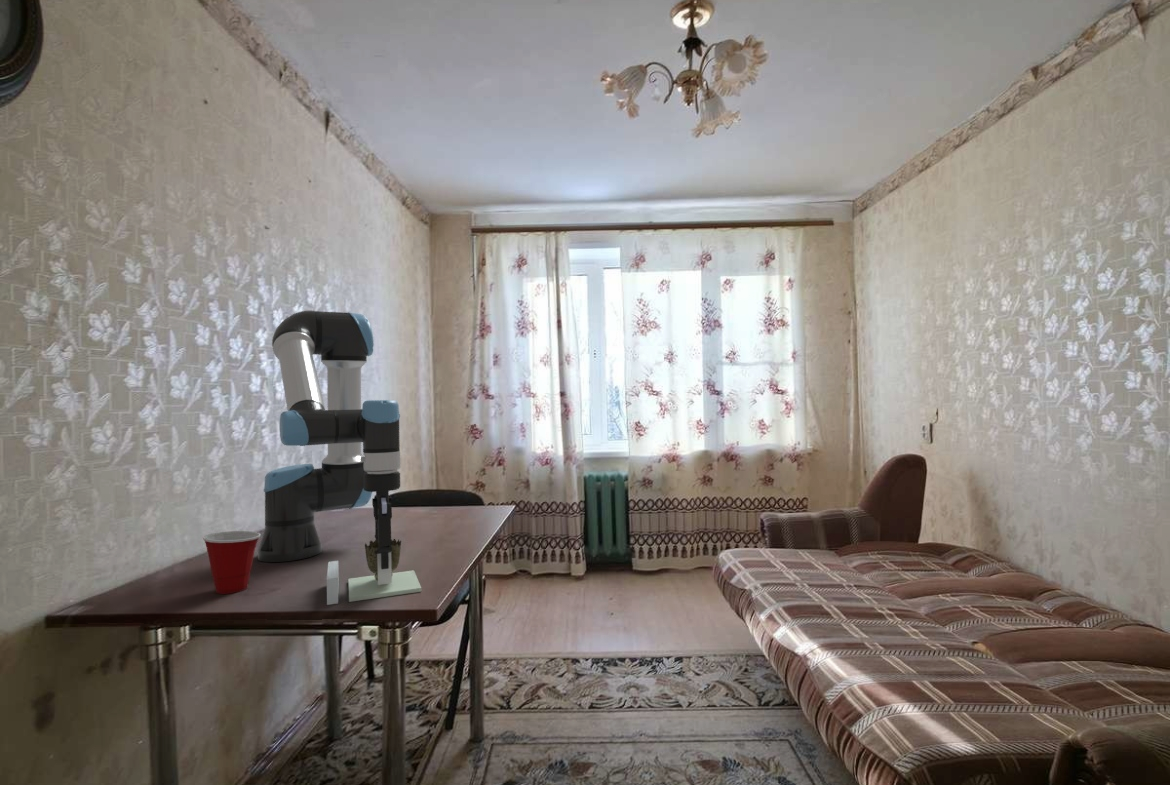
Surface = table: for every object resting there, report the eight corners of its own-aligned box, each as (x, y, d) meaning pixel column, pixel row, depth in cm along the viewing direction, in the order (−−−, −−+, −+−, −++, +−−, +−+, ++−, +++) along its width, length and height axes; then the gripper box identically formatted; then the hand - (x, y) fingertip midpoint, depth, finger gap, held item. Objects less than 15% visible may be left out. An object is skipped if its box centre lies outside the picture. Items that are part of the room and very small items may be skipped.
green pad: (348, 582, 129) (348, 578, 129) (414, 573, 135) (413, 570, 135) (349, 601, 116) (348, 597, 116) (421, 591, 122) (421, 587, 122)
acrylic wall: (328, 584, 128) (328, 561, 128) (338, 583, 129) (338, 560, 129) (327, 604, 115) (326, 579, 115) (338, 603, 116) (337, 577, 116)
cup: (390, 585, 121) (389, 546, 121) (358, 584, 123) (357, 545, 123) (408, 575, 128) (407, 538, 129) (377, 573, 130) (377, 537, 130)
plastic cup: (262, 591, 124) (261, 535, 124) (201, 601, 119) (200, 542, 119) (261, 578, 133) (261, 526, 134) (205, 587, 128) (204, 532, 128)
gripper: (361, 468, 134) (363, 568, 133) (364, 478, 115) (366, 594, 115) (396, 466, 137) (397, 564, 136) (404, 475, 118) (406, 589, 118)
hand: (383, 578), depth 126 cm, fingers closed on cup, 7 cm apart
